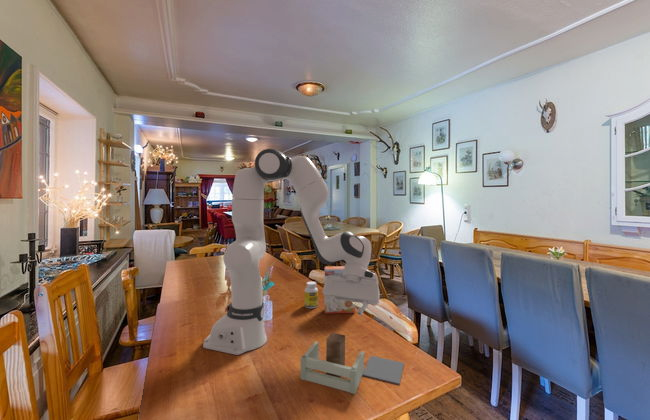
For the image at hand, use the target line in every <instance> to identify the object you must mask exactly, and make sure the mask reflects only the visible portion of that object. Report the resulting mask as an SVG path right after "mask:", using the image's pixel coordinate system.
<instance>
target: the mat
mask: <svg viewBox="0 0 650 420" xmlns="http://www.w3.org/2000/svg"><path fill="white" fill-rule="evenodd" d="M368 358H369V359H368V361H367V363H366V365H365V366H364V372H363V376H362V377H366V378H371V379H375V380H379V381H381V382H382V381H383V382H387V383H391V384H393V385H394V384H395V385H398V386H399V385H401V380H402V377H403V369H404V366H405V362H403V361H402V362H401V361H397V360H393V359H388V358H384V357H379V356H374V355H370V356H369V357H368Z"/></svg>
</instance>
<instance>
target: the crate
mask: <svg viewBox="0 0 650 420" xmlns="http://www.w3.org/2000/svg"><path fill="white" fill-rule="evenodd" d="M319 344H320V342H319V341H314V342H313V343H312V345H311V346H310V347H309V348H308V349H307V350H306V352H305V353H304V354H303V355H301V357H300V380H302V381H308V382H311V383H315V384H318V385H322V386H325V387H330V388H333V389H336V390H340V391H344V392H347V393H350V394H353V395H356V394H357V391H358V388H359V385H360V384H361V383H360V382H361V381H362V378H363V377H364V376H363V372H364V370H365V352H364V351H362V350H361V351H359V354H358V355H357V357H356V359H355V361H354V363H353V365H352V366H349V365H345V366H344V365H340V364H336V363H332V362H328V361H326V360H322V359H319V357H320V356H319V355H320V350H319V348H320V347H319V346H320V345H319ZM314 370H317V371H314ZM318 371H320V372H318ZM321 372H324V373H321ZM326 372H327V373H331V374H335V375H339V376H341V377H340V378H339V377H335V376H331V375H327V374H326ZM342 377H344V378H342ZM346 378H347V379H346ZM348 379H349V380H348Z"/></svg>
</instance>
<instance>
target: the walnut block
mask: <svg viewBox="0 0 650 420" xmlns="http://www.w3.org/2000/svg"><path fill="white" fill-rule="evenodd" d="M325 351H326V352H325V353H326V355H325V356H326V360H325V361H328V362H332V363H336V364H340V365H344V366H346V335H345V334H341V333H335V332H331V333H330V334H329V336H328V337H327V338H326V350H325ZM325 374H326V375H330V376H334V377H338V378H342V376H339V375H335V374H331V373H327V372H325Z"/></svg>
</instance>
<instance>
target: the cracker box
mask: <svg viewBox="0 0 650 420" xmlns="http://www.w3.org/2000/svg"><path fill="white" fill-rule="evenodd" d="M344 267H345V265H343V266H342V265H341V266H338V265H337V266H333V265H332V266H328V265H326V266H324V284H325V283H326V279H327V276H329V275H331V274H341V275H343V271H344ZM334 304H336V306H337V309H336V311H333V310H331V306H332V303H331V299H330V298H326V297H325V296H324V314H356V303H355V304H353V303H352V301H345V300H339V299H336V301H335V302H334Z"/></svg>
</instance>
